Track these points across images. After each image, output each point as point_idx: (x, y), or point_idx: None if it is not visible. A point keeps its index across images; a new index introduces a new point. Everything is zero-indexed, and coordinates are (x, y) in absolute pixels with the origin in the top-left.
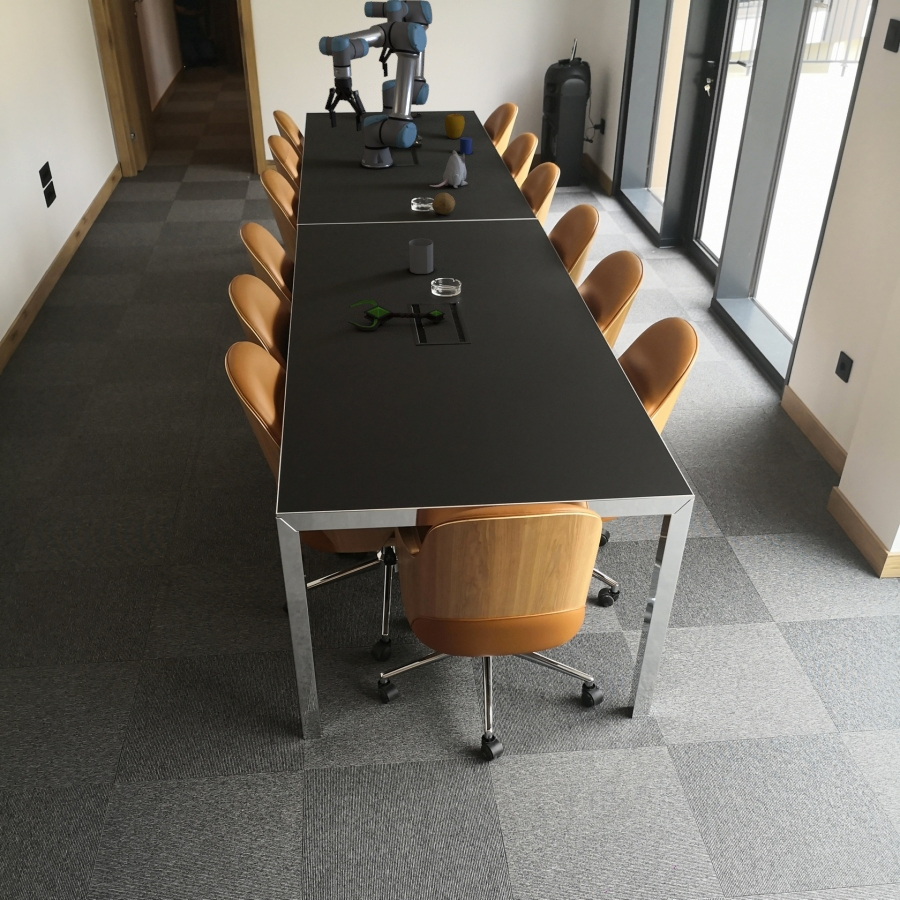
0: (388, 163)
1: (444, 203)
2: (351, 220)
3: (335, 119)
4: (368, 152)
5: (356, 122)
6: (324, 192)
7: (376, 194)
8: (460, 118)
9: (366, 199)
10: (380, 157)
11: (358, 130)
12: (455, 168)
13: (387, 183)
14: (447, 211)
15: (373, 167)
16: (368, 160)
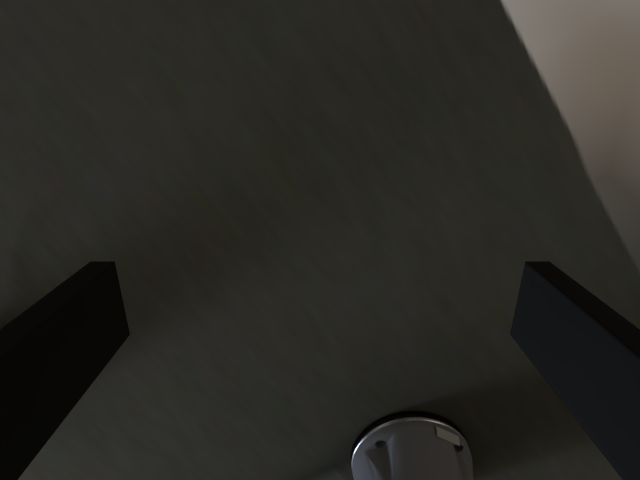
0: (353, 461)
1: None
2: None
3: (566, 389)
4: (435, 474)
5: (25, 328)
6: (389, 14)
7: (144, 130)
8: None
9: (121, 26)
10: (378, 468)
11: (85, 273)
12: None
13: (222, 293)
14: None
15: (393, 418)
16: (422, 439)
